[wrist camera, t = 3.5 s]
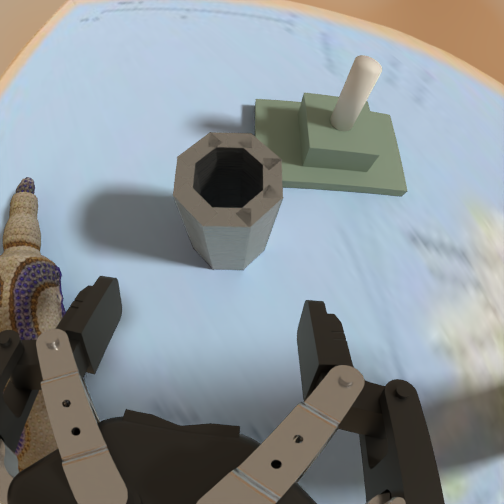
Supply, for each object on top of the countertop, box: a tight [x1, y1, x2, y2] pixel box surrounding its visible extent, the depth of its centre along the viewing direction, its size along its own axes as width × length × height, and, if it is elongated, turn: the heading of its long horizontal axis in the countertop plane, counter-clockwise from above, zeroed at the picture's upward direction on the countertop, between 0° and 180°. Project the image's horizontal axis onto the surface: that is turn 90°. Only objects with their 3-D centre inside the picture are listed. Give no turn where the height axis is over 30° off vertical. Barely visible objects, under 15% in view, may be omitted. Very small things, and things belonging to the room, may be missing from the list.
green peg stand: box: [255, 55, 407, 196], centre depth 24 cm, size 14×9×11 cm, turn 89°
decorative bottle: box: [0, 177, 66, 472], centre depth 20 cm, size 26×8×7 cm, turn 10°
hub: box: [173, 132, 283, 270], centre depth 21 cm, size 6×6×10 cm
